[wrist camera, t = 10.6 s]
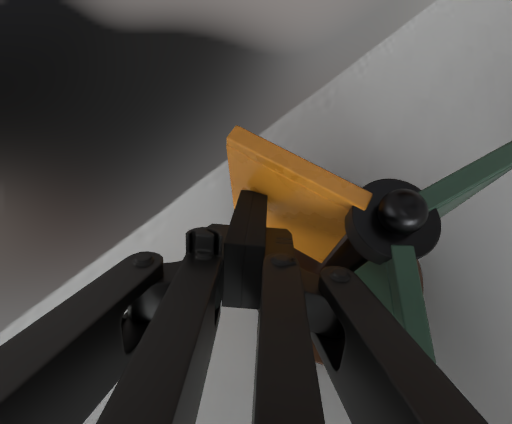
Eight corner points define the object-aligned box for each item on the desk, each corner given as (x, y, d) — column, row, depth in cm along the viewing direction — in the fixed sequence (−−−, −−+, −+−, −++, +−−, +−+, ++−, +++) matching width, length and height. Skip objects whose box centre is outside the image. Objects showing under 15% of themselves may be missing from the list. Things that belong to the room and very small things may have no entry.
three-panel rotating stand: (416, 430, 18) (632, 539, 8) (188, 355, 19) (118, 365, 9) (431, 216, 23) (569, 115, 13) (252, 169, 24) (253, 46, 14)
